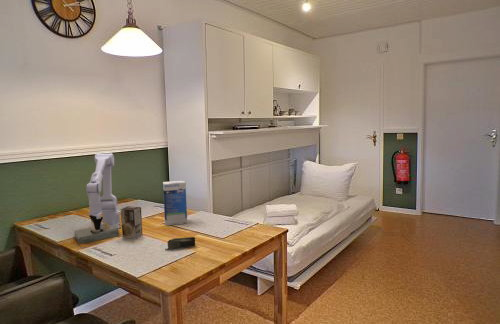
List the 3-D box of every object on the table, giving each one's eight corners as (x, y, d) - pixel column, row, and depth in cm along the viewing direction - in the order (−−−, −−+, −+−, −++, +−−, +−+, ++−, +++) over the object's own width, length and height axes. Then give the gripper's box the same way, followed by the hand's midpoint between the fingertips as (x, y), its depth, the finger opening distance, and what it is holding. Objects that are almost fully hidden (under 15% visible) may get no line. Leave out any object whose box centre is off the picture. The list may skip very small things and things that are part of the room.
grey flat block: (112, 229, 201) (112, 223, 201) (118, 236, 190) (118, 229, 190) (74, 236, 190) (74, 230, 189) (79, 244, 178) (78, 237, 178)
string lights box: (185, 220, 218) (184, 180, 215) (187, 223, 211) (186, 182, 208) (164, 222, 214) (162, 181, 211) (165, 226, 207) (163, 183, 204)
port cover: (117, 225, 198) (116, 219, 198) (121, 228, 192) (120, 223, 191) (103, 227, 194) (103, 222, 193) (106, 231, 187) (106, 225, 187)
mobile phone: (194, 235, 175) (164, 239, 170) (195, 237, 173) (165, 241, 167) (194, 245, 176) (164, 248, 170) (195, 247, 173) (165, 251, 168)
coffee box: (143, 235, 191) (141, 206, 189) (135, 239, 185) (134, 209, 183) (129, 233, 194) (127, 205, 192) (121, 237, 188) (120, 208, 186)
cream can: (100, 230, 191) (98, 217, 190) (100, 232, 187) (99, 219, 186) (92, 231, 189) (90, 219, 188) (92, 233, 185) (91, 221, 184)
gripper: (84, 203, 190) (86, 226, 192) (89, 208, 178) (91, 233, 180) (98, 201, 194) (99, 224, 196) (104, 206, 182) (105, 230, 184)
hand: (96, 228), depth 188 cm, fingers closed on cream can, 4 cm apart
